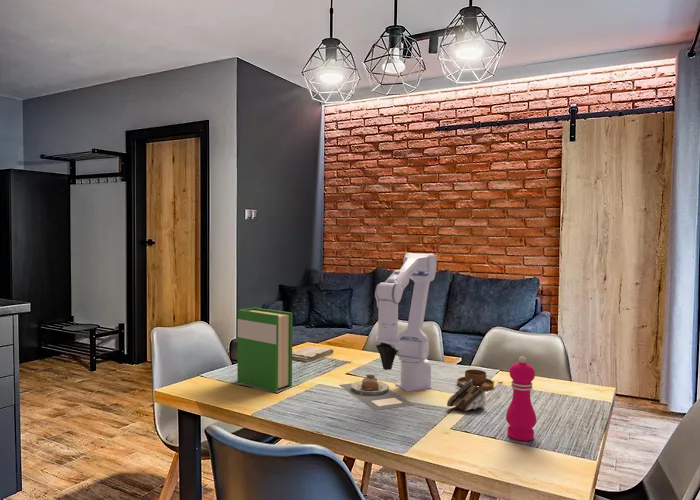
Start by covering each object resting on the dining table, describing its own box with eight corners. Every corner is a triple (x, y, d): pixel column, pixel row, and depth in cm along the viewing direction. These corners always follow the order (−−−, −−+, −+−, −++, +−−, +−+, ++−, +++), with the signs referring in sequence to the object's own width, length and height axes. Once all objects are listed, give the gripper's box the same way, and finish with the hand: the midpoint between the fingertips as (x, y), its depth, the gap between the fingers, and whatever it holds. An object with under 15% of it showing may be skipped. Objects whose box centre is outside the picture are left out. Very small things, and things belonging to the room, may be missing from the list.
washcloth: (283, 359, 206) (283, 351, 205) (310, 350, 221) (310, 343, 221) (308, 364, 199) (308, 356, 199) (334, 354, 215) (334, 347, 215)
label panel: (374, 381, 176) (374, 380, 176) (414, 405, 153) (414, 404, 153) (338, 385, 171) (338, 384, 171) (374, 411, 147) (374, 410, 147)
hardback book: (291, 386, 169) (292, 312, 168) (275, 392, 163) (276, 315, 162) (253, 376, 179) (254, 307, 178) (237, 381, 173) (237, 309, 172)
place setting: (471, 377, 184) (471, 360, 184) (527, 389, 172) (527, 371, 171) (446, 388, 171) (446, 370, 171) (504, 402, 158) (505, 383, 158)
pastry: (345, 392, 163) (346, 378, 163) (358, 382, 174) (358, 368, 174) (382, 397, 159) (382, 382, 158) (393, 386, 170) (393, 372, 170)
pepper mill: (501, 430, 134) (502, 353, 133) (528, 430, 134) (530, 352, 133) (512, 442, 126) (514, 360, 126) (541, 441, 127) (543, 359, 126)
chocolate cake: (465, 415, 143) (490, 382, 147) (445, 402, 148) (469, 371, 152) (471, 431, 149) (495, 399, 153) (452, 418, 154) (475, 387, 158)
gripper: (365, 320, 159) (364, 364, 159) (387, 328, 145) (387, 377, 146) (385, 318, 161) (384, 362, 162) (409, 327, 148) (408, 374, 149)
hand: (387, 369), depth 154 cm, fingers closed
